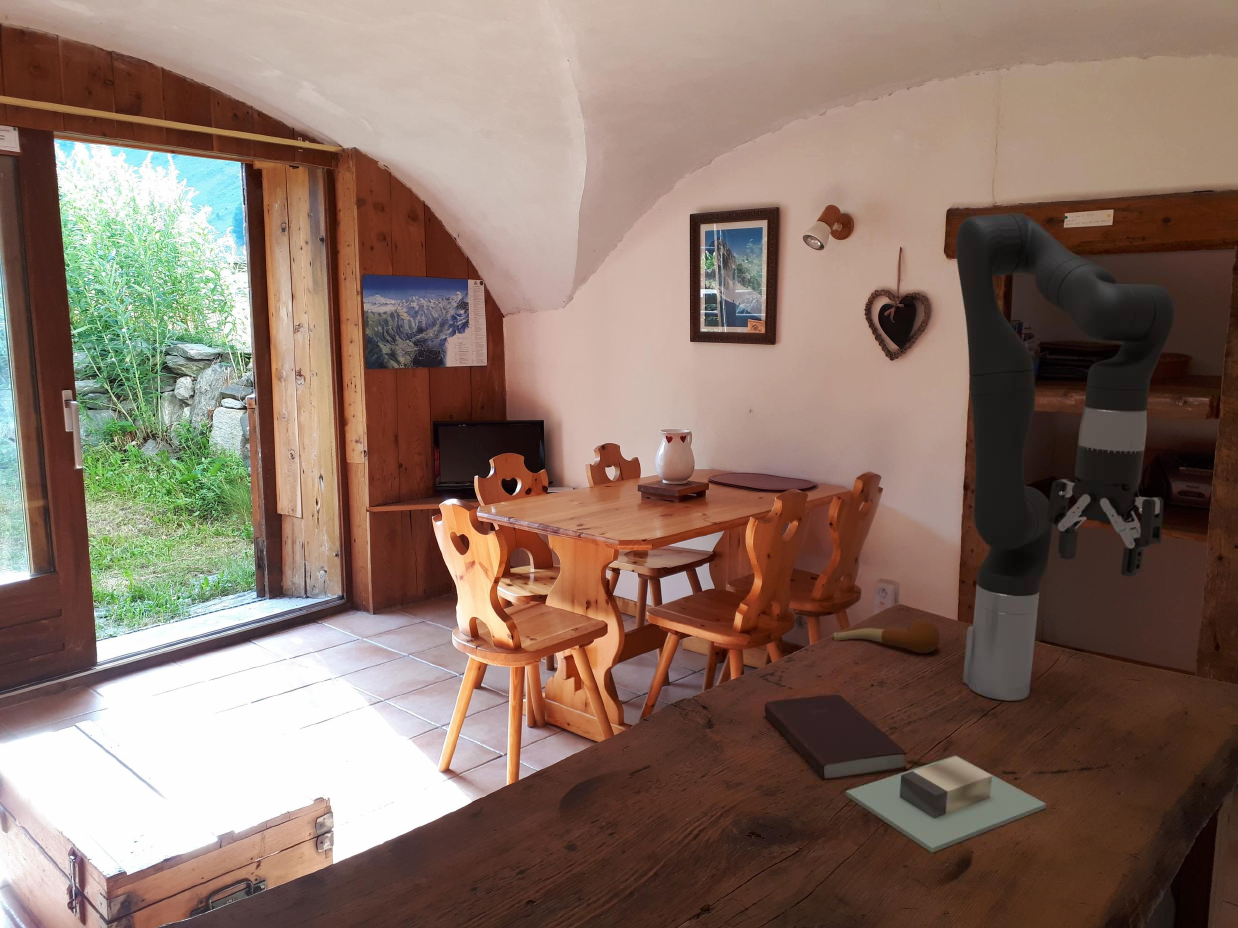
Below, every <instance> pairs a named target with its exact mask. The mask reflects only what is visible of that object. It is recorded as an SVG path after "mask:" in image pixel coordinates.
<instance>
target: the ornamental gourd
mask: <svg viewBox="0 0 1238 928" xmlns="http://www.w3.org/2000/svg"><path fill="white" fill-rule="evenodd" d="M837 634H838V635H837ZM833 636H834V637H833ZM832 638H833V641H835V642H838V641H845V640H857V639H858V640H859V639H861V640H863V639H864V640H869V641H874V642H879V643H882V644H883V645H887V646H888V645H889V646H894V647H901V648H904V649H905V648H906V649H908V650H909V651H911V652H914V653H916V654H917V653H918V654H923V655H925V654H929V653H932V652H933V651H935V650H936V649H937V648H938V646H939V644H940V638H941V636H940V632H939V629H938V627H937V625H935V624H934V623H933V622H932V621H930V620H927V619H924V618H917V619H914V620H913V621H911V622H910V623H909V624H908V626H907V630H906V631H905V630H896V629H888V628H885V629H883V628H873V627H872V628H871V627H869V628H867V627H866V628H860V629H855V630H847V631H842V632H834V633H833V634H832Z"/></svg>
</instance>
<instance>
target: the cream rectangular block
mask: <svg viewBox="0 0 1238 928" xmlns="http://www.w3.org/2000/svg"><path fill="white" fill-rule="evenodd" d="M958 757H959V756H958ZM958 757H954V758H951V759H948V760H945V761H942V762H939V763H936V764H933V765H930V766H927V767H924V768H921V769H918V770H915V771H912V772H909V773H906V774H903V775H901V785H900V798H902V799H903V800H905V801H907V802H908V803H910V804H911V805H913V806H915V807H916V808H918V809H920V810H921V811H923V812H924V813H926V814H928V815H929V816H931V817H932V818H937V817H939V816H942V815H945V814H947V813H950V812H953V811H955V810H958V809H961V808H964V807H966V806H969V805H972V804H974V803H977V802H980V801H983V800H985V799H988V798H990V793H991V782H992V775H993V774H991V773H989V772H988V773H989V774H988V773H986V772H987V771H986V772H984V771H985V770H984V769H982V768H980V767H978V766H976V765H974V764H973V765H974V766H973V765H971V764H972V763H971V764H970V762H969V761H967V760H965V759H963V758H961V757H960V758H961V759H960V758H958ZM962 759H963V760H962ZM964 760H965V761H964ZM966 761H967V762H966ZM968 762H969V763H968ZM975 766H976V767H975ZM977 767H978V768H977ZM979 768H980V769H979ZM981 769H982V770H981ZM983 770H984V771H983ZM990 774H991V775H990Z"/></svg>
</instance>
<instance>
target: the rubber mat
mask: <svg viewBox="0 0 1238 928" xmlns="http://www.w3.org/2000/svg"><path fill="white" fill-rule="evenodd" d="M954 757H958V758H960V759H962V760H964V761H966V762H968V763H970V762H969V761H967V760H966V759H963V758H962V757H960V756H957V755H955V754H954V755H953V756H949V757H947V758H946V757H945V758H943V759H940V760H938V761H934V762H932V763H928V764H926V765H922V766H919V767H915V768H913V769H910V770H907V771H904V772H900V773H898V774H895V775H891V776H888V777H886V778H882V779H879V780H877V781H876V780H875V781H873V782H870V783H866V784H864V785H861V786H858V787H855V788H850V789H848V790H846V791H845V796H846V797H847V798H849V799H850V800H852V801H853V802H855V803H856V804H858V805H859V806H861V807H862V808H864V809H865V810H867V811H868V812H870V813H871V814H873V815H874V816H875V817H877V818H879V819H880V820H881V821H883V822H885V823H886V824H888V825H890V826H891V827H892V828H893V829H895V830H897V831H898V832H900V833H901V834H902V835H905V836H906V837H907V838H909V839H910V840H912V841H914V842H915V843H917V844H918V845H920V846H921V847H923V848H924V849H926V850H927V851H928V852H930V853H931V854H932V853H935V852H937V851H940V850H943V849H946V848H948V847H950V846H953V845H955V844H958V843H960V842H963V841H966V840H969V839H970V838H973V837H977V836H979V835H982V834H983V833H986V832H989V831H991V830H993V829H997V828H998V827H1002V826H1003V825H1006V824H1009V823H1011V822H1014V821H1017V820H1019V819H1022V818H1024V817H1027V816H1029V815H1032V814H1035V813H1037V812H1039V811H1042V810H1044V809H1046V808H1047V803H1045V802H1043V801H1041V800H1040V799H1037V798H1036V797H1034V796H1032V795H1031V794H1029V793H1027V792H1024V791H1023V790H1021V789H1019V788H1017V787H1015V786H1014V785H1012V784H1010V783H1008V782H1006V781H1004V780H1003V779H1000V778H999V777H997V776H996V775H995V776H994V775H993V774H991V773H989V772H987V771H985V770H984V769H982V768H980V767H978V766H976V765H974V764H972V763H970V764H971V765H973V766H975V767H977V768H979V769H981V770H983V771H984V772H986V773H988V774H990V775H992V782H991V793H990V798H988V799H985V800H983V801H980V802H977V803H974V804H972V805H969V806H966V807H964V808H961V809H958V810H955V811H953V812H950V813H947V814H945V815H942V816H939V817H937V818H932V817H931V816H929V815H928V814H926V813H924V812H923V811H921V810H920V809H918V808H916V807H915V806H913V805H911V804H910V803H908V802H907V801H905V800H903V799H902V798H900V785H901V775H903V774H906V773H909V772H912V771H915V770H918V769H921V768H924V767H927V766H930V765H933V764H936V763H939V762H942V761H945V760H948V759H951V758H954Z"/></svg>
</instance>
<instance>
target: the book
mask: <svg viewBox="0 0 1238 928" xmlns="http://www.w3.org/2000/svg"><path fill="white" fill-rule="evenodd" d="M764 714H765V717H766V718H767V719H768V720H769V722H770V723H771V724H772V725H773V726H774V727H775V728H776V729H777V730H778V732H779V733H780V734H782V736H783V737H784V738H785V739H786V740H787V741H788V743H789V744H790V745H791V746H792V747H793V748H794V749H795V750H796V752H799V753H800V754H801V755H802V756H801V755H800V754H799V753H798V754H799V755H800V756H801V757H802V758H803V757H804V758H803V759H804V760H805V761H806V762H807V764H808V763H809V764H808V765H809V767H811V768H812V769H813V771H814V772H815V773H816V774H817V775H818V777H819V778H820V779H822V780H824V781H827V779H833V778H844V779H845V778H850V777H859V776H861V777H862V776H867V775H868V776H869V775H875V774H877V775H878V774H886V773H892V772H893V773H894V772H899V771H904V770H907V765H905V755H906V756H907V754H908V753H907V751H906V750H905V749H903V748H902V747H901V746H900V745H899V744H898V743H897V742H896V741H895V740H893V739H892V737H890V736H889V735H887V734H886V733H885V732H884V731H882V730H881V728H879V727H878V726H877V725H875V724H874V723H873V722H872V721H871V720H870V719H869V718H867V716H865V715H864V714H863V713H861V712H860V711H859V709H857V708H856V707H854V706H853V705H852V704H851V703H850V702H849V701H848V700H846V698H844V697H843V696H842V695H841V694H840V695H839V694H831V695H817V696H805V697H804V696H803V697H796V698H787V699H786V698H785V699H779V700H772V701H767V702H765V704H764Z"/></svg>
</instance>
